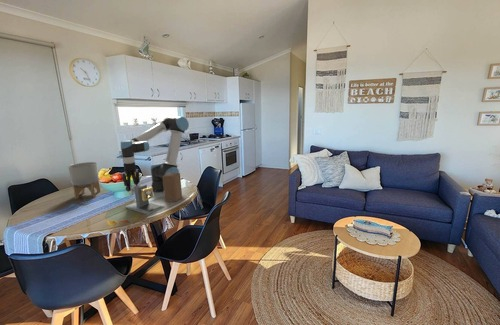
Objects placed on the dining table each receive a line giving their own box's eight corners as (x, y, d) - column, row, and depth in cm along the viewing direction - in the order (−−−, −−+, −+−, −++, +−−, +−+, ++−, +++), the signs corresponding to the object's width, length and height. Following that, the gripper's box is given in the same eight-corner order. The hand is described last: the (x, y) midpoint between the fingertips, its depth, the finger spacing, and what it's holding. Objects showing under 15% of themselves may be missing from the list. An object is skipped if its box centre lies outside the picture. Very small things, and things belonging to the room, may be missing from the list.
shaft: (153, 195, 168) (152, 189, 167) (147, 197, 164) (147, 191, 163) (132, 190, 180) (131, 184, 179) (126, 192, 176) (125, 186, 175)
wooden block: (176, 201, 181) (174, 176, 177) (164, 201, 183) (161, 175, 179) (182, 197, 191) (180, 172, 186) (171, 196, 193) (168, 172, 188)
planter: (82, 200, 187) (75, 168, 182) (69, 196, 197) (63, 166, 191) (106, 193, 203) (101, 163, 197) (93, 189, 213) (88, 161, 207)
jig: (164, 206, 173) (162, 185, 169) (147, 214, 161) (144, 192, 157) (142, 201, 184) (140, 181, 181) (125, 207, 173) (122, 186, 169)
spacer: (153, 197, 171) (152, 187, 170) (144, 200, 165) (142, 190, 163) (151, 196, 172) (150, 186, 170) (142, 200, 166) (141, 190, 164)
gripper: (135, 159, 179) (139, 189, 185) (115, 164, 166) (120, 196, 171) (142, 160, 176) (146, 191, 181) (121, 165, 162) (126, 198, 168)
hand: (133, 193), depth 176 cm, fingers closed on shaft, 3 cm apart
